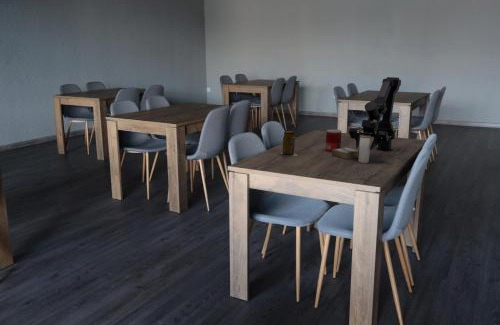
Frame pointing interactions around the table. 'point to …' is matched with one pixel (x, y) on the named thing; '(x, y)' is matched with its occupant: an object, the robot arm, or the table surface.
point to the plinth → (345, 153)
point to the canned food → (333, 139)
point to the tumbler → (364, 148)
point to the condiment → (288, 144)
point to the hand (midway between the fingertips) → (363, 148)
